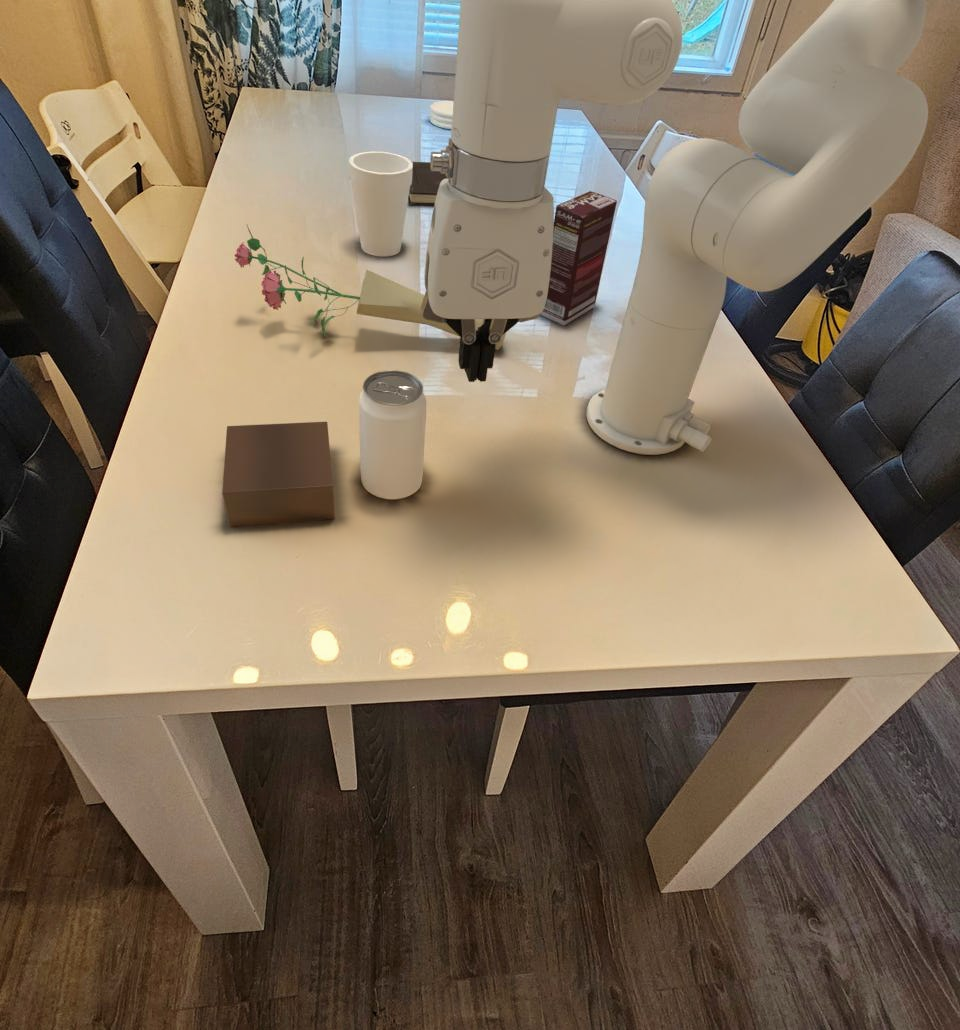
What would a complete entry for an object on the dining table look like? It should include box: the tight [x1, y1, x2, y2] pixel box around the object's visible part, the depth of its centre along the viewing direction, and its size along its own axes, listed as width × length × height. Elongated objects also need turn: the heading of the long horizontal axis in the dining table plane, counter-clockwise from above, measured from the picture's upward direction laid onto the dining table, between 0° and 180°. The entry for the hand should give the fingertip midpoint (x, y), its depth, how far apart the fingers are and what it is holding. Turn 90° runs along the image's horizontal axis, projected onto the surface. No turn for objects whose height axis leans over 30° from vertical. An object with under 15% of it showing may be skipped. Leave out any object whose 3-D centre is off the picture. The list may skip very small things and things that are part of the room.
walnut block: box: [221, 421, 336, 527], centre depth 71 cm, size 10×10×4 cm
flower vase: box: [234, 224, 507, 351], centre depth 92 cm, size 12×12×35 cm
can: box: [358, 369, 427, 501], centre depth 70 cm, size 6×6×12 cm
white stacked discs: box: [429, 100, 454, 130], centre depth 161 cm, size 10×10×4 cm
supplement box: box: [540, 190, 618, 326], centre depth 99 cm, size 9×5×16 cm, turn 141°
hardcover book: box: [408, 161, 448, 207], centre depth 133 cm, size 16×23×2 cm
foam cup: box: [348, 150, 413, 257], centre depth 109 cm, size 10×9×13 cm
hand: (474, 373), depth 67 cm, fingers closed
